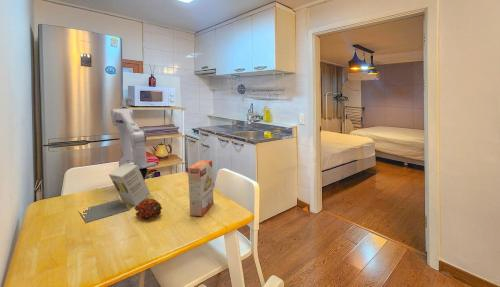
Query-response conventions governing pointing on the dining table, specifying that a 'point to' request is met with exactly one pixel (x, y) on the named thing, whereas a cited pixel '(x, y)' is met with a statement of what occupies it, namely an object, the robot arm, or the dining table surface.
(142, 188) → the supplement box
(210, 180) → the cracker box
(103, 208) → the mat
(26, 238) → the dining table surface
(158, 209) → the reddish-brown bumpy oval
